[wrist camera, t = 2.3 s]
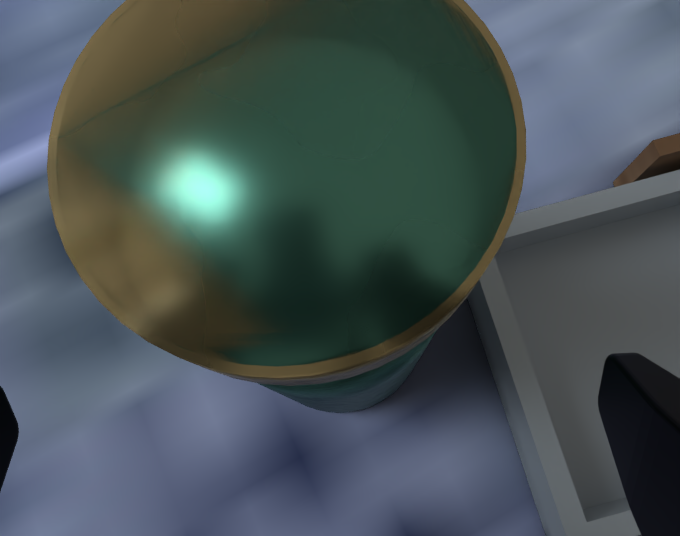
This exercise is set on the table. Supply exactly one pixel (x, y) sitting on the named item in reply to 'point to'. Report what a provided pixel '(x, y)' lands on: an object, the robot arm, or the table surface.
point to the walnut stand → (653, 161)
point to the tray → (579, 336)
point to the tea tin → (288, 182)
